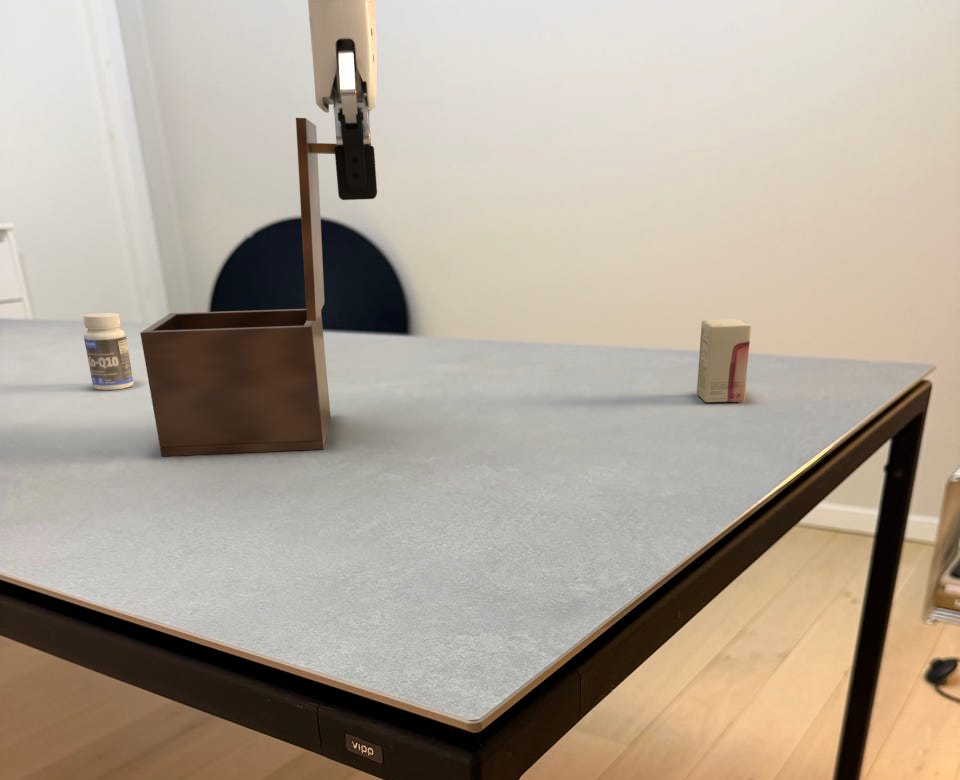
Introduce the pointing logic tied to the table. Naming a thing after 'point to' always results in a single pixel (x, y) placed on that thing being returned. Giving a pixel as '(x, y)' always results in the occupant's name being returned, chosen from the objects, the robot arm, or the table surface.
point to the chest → (237, 382)
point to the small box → (723, 360)
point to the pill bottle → (107, 352)
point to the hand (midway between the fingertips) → (358, 196)
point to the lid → (311, 213)
